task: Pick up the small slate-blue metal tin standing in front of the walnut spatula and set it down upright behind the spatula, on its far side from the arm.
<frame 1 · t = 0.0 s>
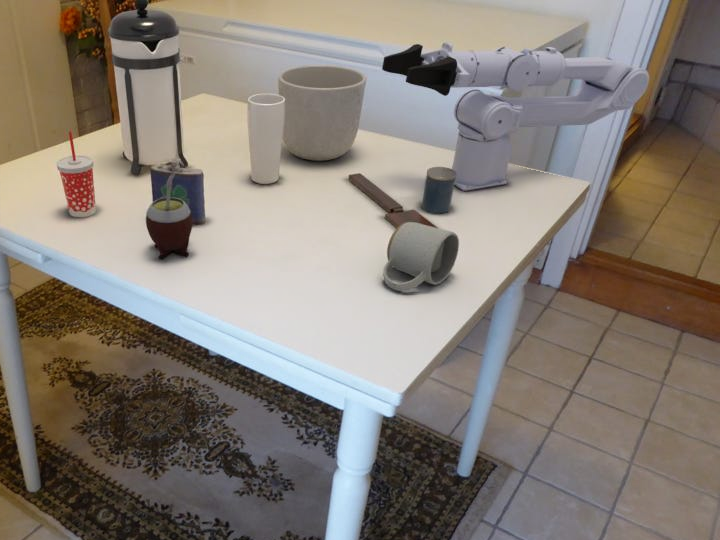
hand: (395, 69, 110), 22 cm above the table, tool horizontal, fingers open, 7 cm apart
ceramic mug: (414, 278, 100), on the table
mate gourd: (173, 253, 107), on the table
flask: (179, 220, 116), on the table
drinking glass: (265, 180, 130), on the table
spatula: (386, 205, 120), on the table
coffee press: (152, 161, 138), on the table
beverage cup: (82, 212, 119), on the table
planter: (317, 154, 141), on the table
tin: (435, 207, 119), on the table
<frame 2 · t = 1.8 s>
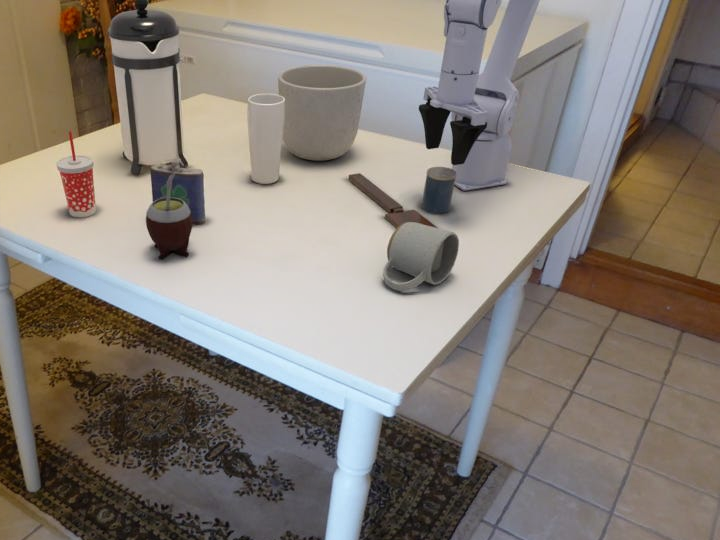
hand: (444, 155, 114), 9 cm above the table, tool pointing down, fingers open, 7 cm apart
nothing on the table moved.
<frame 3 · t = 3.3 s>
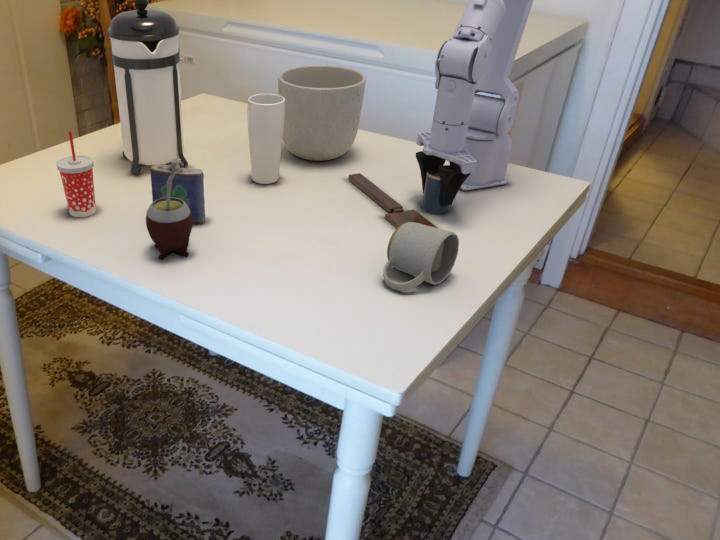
hand: (437, 198, 118), 2 cm above the table, tool pointing down, fingers closed on tin, 5 cm apart
tin: (435, 207, 119), on the table, touching gripper
everything else where it was.
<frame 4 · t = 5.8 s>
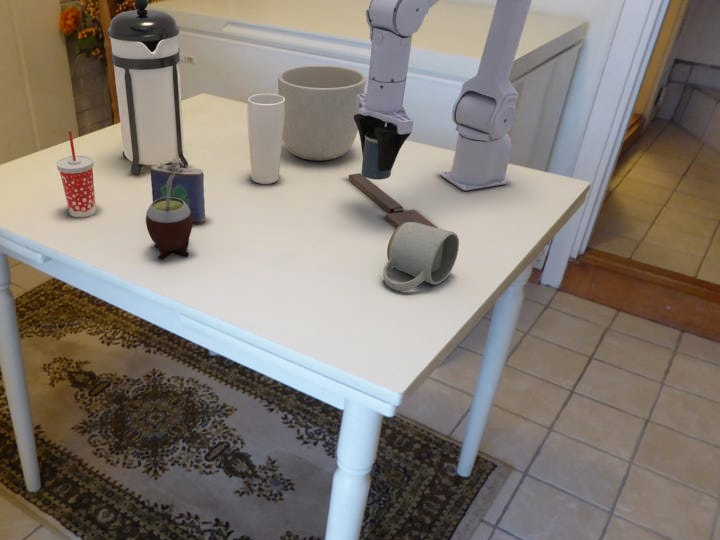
hand: (376, 164, 112), 9 cm above the table, tool pointing down, fingers closed on tin, 5 cm apart
tin: (375, 174, 113), point 7 cm above the table, touching gripper
everything else where it was.
when the fingers open (2 cm above the table, at t = 8.7 s): tin stays where it is, on the table.
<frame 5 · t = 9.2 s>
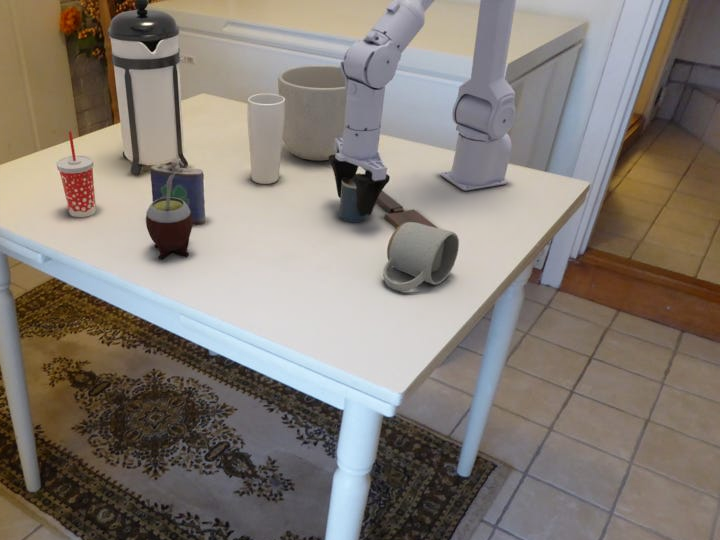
hand: (354, 205, 116), 2 cm above the table, tool pointing down, fingers open, 7 cm apart
tin: (353, 216, 117), on the table
everything else where it was.
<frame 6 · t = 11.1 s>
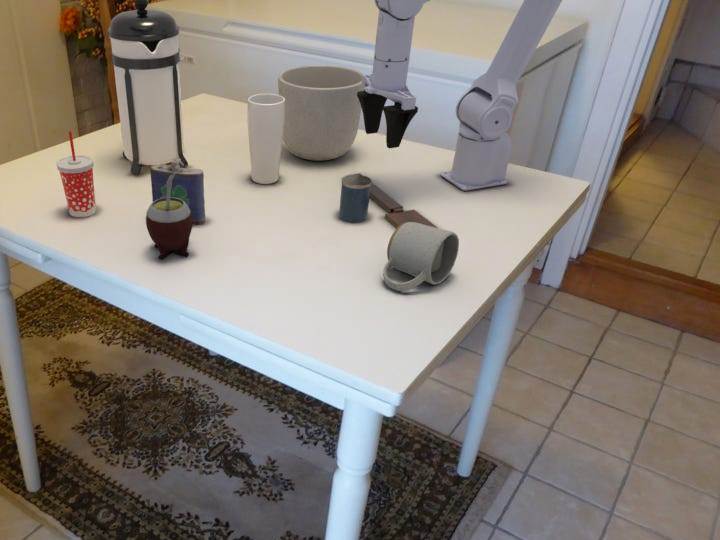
hand: (382, 139, 120), 9 cm above the table, tool pointing down, fingers open, 7 cm apart
nothing on the table moved.
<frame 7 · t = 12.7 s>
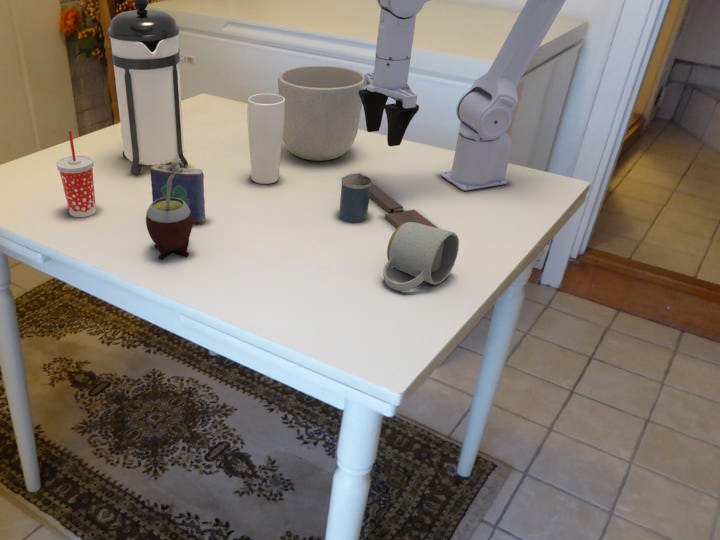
hand: (383, 138, 120), 9 cm above the table, tool pointing down, fingers open, 7 cm apart
nothing on the table moved.
at the end: tin inside the target area on the table beside the spatula (1.5 cm from its centre), on the table; tin tilted 0°; the gripper is holding nothing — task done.
